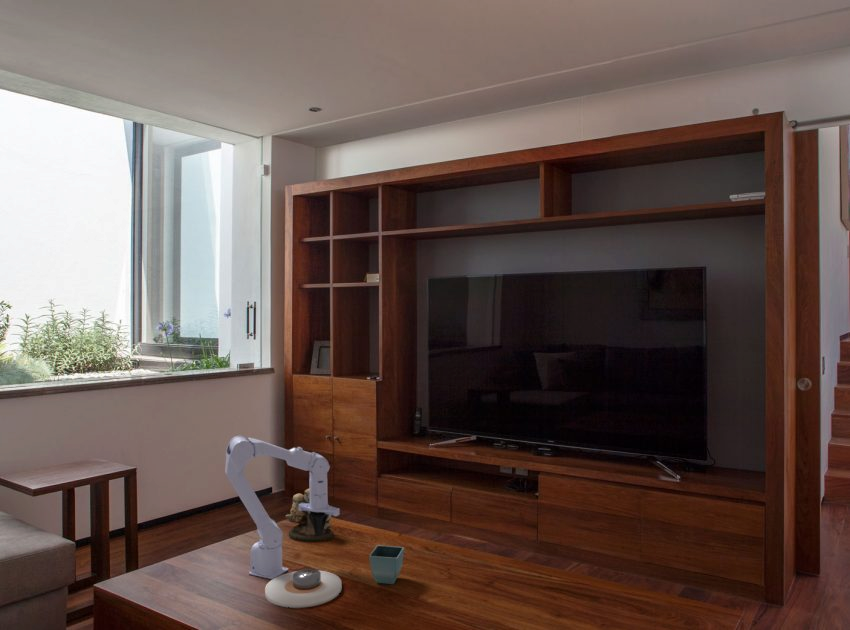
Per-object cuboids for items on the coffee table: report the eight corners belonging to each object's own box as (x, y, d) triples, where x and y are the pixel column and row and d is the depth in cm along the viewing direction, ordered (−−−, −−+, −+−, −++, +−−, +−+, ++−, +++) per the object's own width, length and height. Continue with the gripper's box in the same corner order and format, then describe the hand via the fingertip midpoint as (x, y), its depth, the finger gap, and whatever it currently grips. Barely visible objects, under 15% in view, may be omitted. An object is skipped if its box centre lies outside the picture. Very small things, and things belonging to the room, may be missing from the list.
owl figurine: (280, 540, 235) (279, 492, 235) (293, 529, 246) (292, 483, 246) (328, 543, 231) (327, 494, 231) (339, 532, 243) (338, 485, 242)
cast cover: (287, 587, 192) (287, 577, 192) (302, 577, 199) (302, 566, 199) (311, 592, 189) (311, 581, 189) (325, 581, 196) (325, 570, 196)
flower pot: (398, 588, 195) (397, 557, 194) (369, 585, 196) (368, 555, 196) (404, 575, 203) (404, 546, 203) (377, 573, 205) (376, 545, 205)
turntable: (248, 598, 188) (248, 593, 188) (296, 570, 208) (296, 565, 208) (312, 614, 179) (312, 608, 179) (355, 582, 199) (355, 577, 199)
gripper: (344, 492, 213) (345, 534, 213) (307, 487, 219) (307, 527, 219) (332, 498, 206) (332, 541, 207) (294, 492, 213) (294, 534, 213)
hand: (319, 535), depth 213 cm, fingers closed
